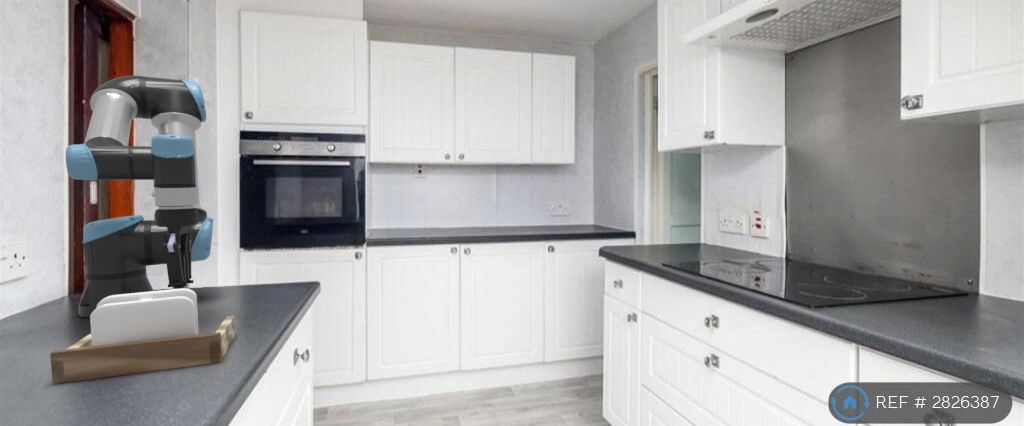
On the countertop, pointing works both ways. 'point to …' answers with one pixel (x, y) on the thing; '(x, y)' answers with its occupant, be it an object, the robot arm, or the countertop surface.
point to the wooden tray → (140, 355)
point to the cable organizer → (144, 316)
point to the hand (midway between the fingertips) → (182, 314)
